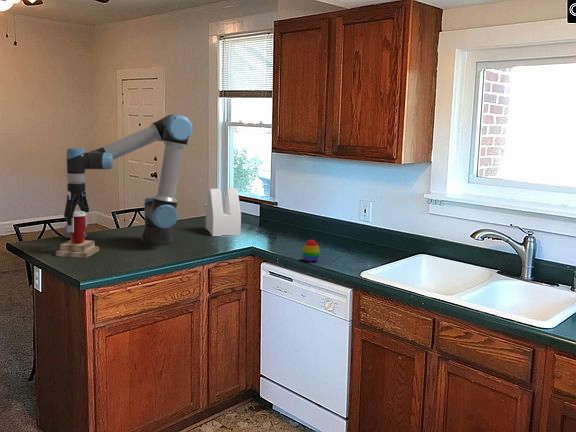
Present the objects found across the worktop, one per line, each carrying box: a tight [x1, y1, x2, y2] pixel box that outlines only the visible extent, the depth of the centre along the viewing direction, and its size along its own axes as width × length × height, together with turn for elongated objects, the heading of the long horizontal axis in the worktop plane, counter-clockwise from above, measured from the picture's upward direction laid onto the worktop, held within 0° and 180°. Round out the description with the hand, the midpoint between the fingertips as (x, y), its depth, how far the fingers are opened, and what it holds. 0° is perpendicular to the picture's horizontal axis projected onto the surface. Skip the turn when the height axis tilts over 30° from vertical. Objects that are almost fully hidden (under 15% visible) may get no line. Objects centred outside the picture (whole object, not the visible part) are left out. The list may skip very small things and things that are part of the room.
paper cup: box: [70, 210, 86, 244], centre depth 254 cm, size 8×8×14 cm
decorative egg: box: [301, 239, 321, 262], centre depth 259 cm, size 8×8×10 cm
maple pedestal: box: [55, 239, 100, 259], centre depth 255 cm, size 14×14×5 cm
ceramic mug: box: [62, 224, 88, 240], centre depth 285 cm, size 11×8×8 cm
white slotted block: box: [205, 187, 242, 237], centre depth 312 cm, size 19×15×25 cm
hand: (77, 229), depth 254 cm, fingers open, 13 cm apart
